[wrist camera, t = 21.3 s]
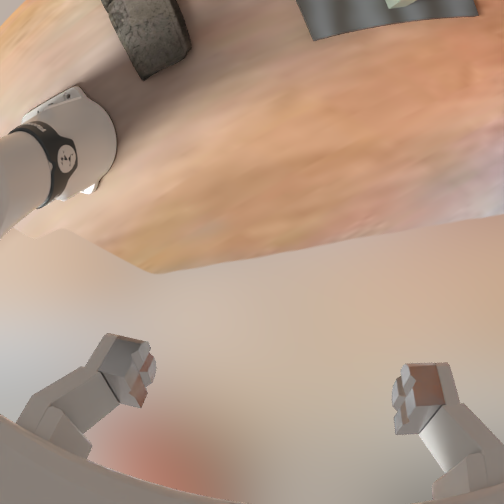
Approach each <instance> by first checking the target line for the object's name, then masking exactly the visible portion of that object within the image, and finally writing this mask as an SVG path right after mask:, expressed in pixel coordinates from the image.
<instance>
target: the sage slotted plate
mask: <svg viewBox="0 0 504 504" xmlns="http://www.w3.org/2000/svg"><path fill="white" fill-rule="evenodd" d="M385 1H386V3H387V6H388V8H389V9H392V8H399V7H406V6H408V5H409V4H411V3H413V2H415V1H416V0H385Z"/></svg>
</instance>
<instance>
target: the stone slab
mask: <svg viewBox="0 0 504 504" xmlns="http://www.w3.org/2000/svg"><path fill="white" fill-rule="evenodd" d="M101 1H102V3H103V6H104V8H105V9H106V11H107V12H108V13H109V18H110V20H111V23H112V25H113V27H114V29H115V31H116V33H117V35H118V37H119V39H120V41H121V43H122V45H123V46H124V48H125V50H126V52H127V54H128V55H129V58H130V60H131V62H132V64H133V66H134V67H135V69H136V71H137V73H138V74H139V76H140V78H141V79H142V80H145V79H147V78H148V77H150V76H151V75H153V74H154V73H156V72H158V71H160V70H162V69H164V68H166V67H168V66H170V65H173V64H175V63H177V62H179V61H181V60H182V59H184V58H185V57H186V55H187V52H188V51H189V50H190V49H191V41H190V38H189V34H188V30H187V28H186V25H185V21H184V19H183V16H182V13H181V11H180V8H179V6H178V4H177V1H176V0H101Z"/></svg>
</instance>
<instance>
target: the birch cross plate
mask: <svg viewBox="0 0 504 504" xmlns="http://www.w3.org/2000/svg"><path fill="white" fill-rule="evenodd" d="M296 2H297V4H298V6H299V8H300V11H301V13H302V15H303V17H304V20H305V22H306V24H307V27H308V29H309V32H310V34H311V37H312V39H313V41H316V40H320V39H324V38H328V37H332V36H336V35H340V34H344V33H349V32H353V31H358V30H363V29H368V28H373V27H379V26H385V25H391V24H397V23H404V22H412V21H420V20H429V19H440V18H454V17H475V16H479V15H478V12H477V9H476V6H475V4H474V1H473V0H416V1H415V2H413V3H411V4H409V5H408V6H406V7H399V8H392V9H389V8H388V6H387V3H386V1H385V0H296Z"/></svg>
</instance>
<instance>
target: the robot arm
mask: <svg viewBox="0 0 504 504" xmlns="http://www.w3.org/2000/svg"><path fill="white" fill-rule="evenodd" d="M69 95H70V98H69ZM116 144H117V143H116V133H115V129H114V126H113V123H112V121H111V119H110V117H109V115H108V114H107V113H106V111H105V110H104V109H103V108H102V107H101V106H100V105H99V104H97V103H96V102H94V101H92V100H90V99H89V98H88V97H87V96H86V95H85V93H84V92H83V91H82V89H81V88H80V87H78V86H74V87H72V88H69V89H68V90H66V91H64V92H62V93H60V94H59V95H57V96H55V97H53V98H52V99H50V100H48V101H46V102H45V103H43V104H41V105H40V106H38V107H36V108H35V109H33V110H32V111H30V112H29V113H27V114H25V115H24V116H23V118H22V123H21V125H20V126H18V127H16V128H15V129H13V130H12V131H11V132H10V133H9V134H8V135H6V136H4V137H2V138H0V240H1V239H2V238H3V237H4V235H5V234H6V233H7V232H8V231H9V230H10V229H11V228H12V227H14V226H15V225H16V224H17V223H18V222H20V221H21V220H22V219H23V218H24V217H26V216H27V215H28V214H29V213H31V212H32V211H33V210H35V209H39V208H42V207H44V206H46V205H48V204H50V203H51V202H53V201H54V200H62V201H66V200H68V199H70V198H71V197H73V196H75V195H77V194H78V193H85V194H91V193H93V192H95V190H96V189H97V186H98V183H99V180H100V179H101V177H102V176H103V175H104V174H105V173H106V172H107V171H108V170H109V169H110V167H111V165H112V163H113V161H114V158H115V154H116ZM150 349H151V347H150V345H149V343H148V342H146V341H142V340H137V339H133V338H128V337H124V336H120V335H115V334H111V333H107V334H106V335H104V336H103V338H102V340H101V342H100V343H99V345H98V346H97V348H96V349H95V351H94V352H93V354H92V356H91V358H90V359H89V361H88V362H87V364H86V366H85V367H79V368H78V369H76V370H74V371H73V372H71V373H69V374H68V375H66V376H64V377H63V378H61V379H59V380H57V381H56V382H54V383H53V384H51V385H49V386H47V387H46V388H44V389H42V390H40V391H39V392H37V393H35V394H34V395H32V397H31V398H30V400H29V401H28V403H27V405H26V406H25V408H24V410H23V411H22V413H21V415H20V417H19V418H18V420H17V422H16V423H14V422H13V421H11V420H9V419H7V418H6V417H4V416H3V415H1V414H0V504H249V503H241V502H235V501H229V500H223V499H217V498H212V497H207V496H202V495H198V494H193V493H188V492H184V491H180V490H177V489H173V488H168V487H165V486H162V485H158V484H155V483H151V482H148V481H145V480H141V479H138V478H135V477H132V476H129V475H126V474H124V473H121V472H118V471H115V470H112V469H109V468H107V467H104V466H102V465H99V464H97V463H94V462H92V461H90V460H87V457H88V455H89V453H90V450H91V448H92V444H91V442H90V441H89V440H88V439H87V438H86V437H85V436H84V435H83V433H85V432H86V431H87V430H89V429H90V428H91V427H92V426H94V425H95V424H96V423H97V422H98V421H100V420H101V419H102V418H103V417H105V416H106V415H107V414H108V413H110V412H111V411H112V410H113V409H114V408H116V407H117V406H118V405H119V403H121V404H125V405H129V406H133V407H138V408H141V407H142V405H143V403H144V400H145V398H146V396H147V394H148V393H147V389H146V387H147V386H148V385H149V384H151V383H152V382H153V379H154V377H155V373H156V361H155V358H154V357H153V356H152V355H151V354H150V353H149V351H150ZM392 405H393V407H394V408H395V409H396V410H397V411H398V412H397V413H396V415H395V416H394V424H395V434H396V435H404V434H419V436H420V438H421V439H422V441H423V442H424V443H425V445H426V446H427V448H428V449H429V451H430V452H431V453H432V455H433V456H434V458H435V459H436V461H437V462H438V464H439V465H440V467H441V468H442V470H443V471H444V472H445V474H444V475H443V476H442V477H440V478H439V479H438V480H436V481H435V482H434V483H433V484H432V496H433V500H431V501H426V502H419V503H412V504H504V445H503V444H502V443H501V442H500V440H499V439H498V438H497V437H496V436H495V435H494V434H493V433H492V432H491V431H490V430H489V429H488V428H487V427H486V426H485V425H484V424H483V422H482V421H481V420H480V419H479V418H478V417H477V416H476V415H475V414H474V413H473V412H472V411H471V410H470V409H469V408H468V407H467V406H466V405H465V404H464V403H461V404H460V401H459V397H458V393H457V389H456V386H455V382H454V379H453V375H452V372H451V369H450V365H449V364H448V363H446V362H445V363H411V364H405V365H403V367H402V369H401V376H400V377H399V378H397V379H396V381H395V383H394V385H393V391H392Z"/></svg>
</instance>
